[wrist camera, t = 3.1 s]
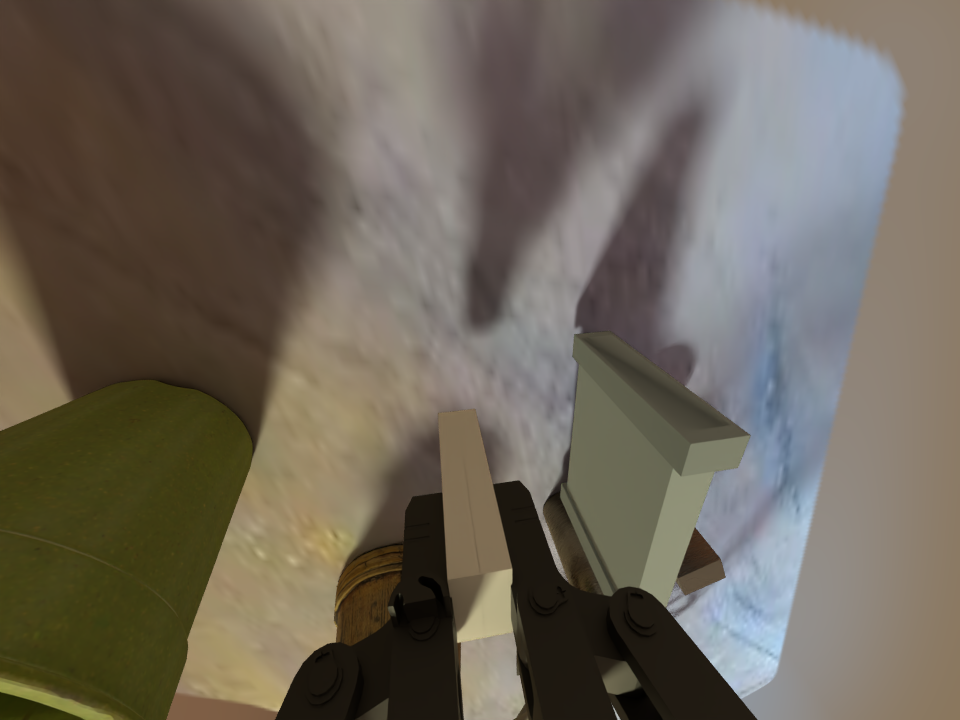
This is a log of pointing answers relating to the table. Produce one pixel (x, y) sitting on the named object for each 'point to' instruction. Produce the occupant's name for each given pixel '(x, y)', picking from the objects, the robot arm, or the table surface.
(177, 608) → the plant pot
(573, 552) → the hinge post
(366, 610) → the wooden mug
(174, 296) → the table surface
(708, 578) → the block
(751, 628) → the table surface
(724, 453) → the grey-green flanged panel
